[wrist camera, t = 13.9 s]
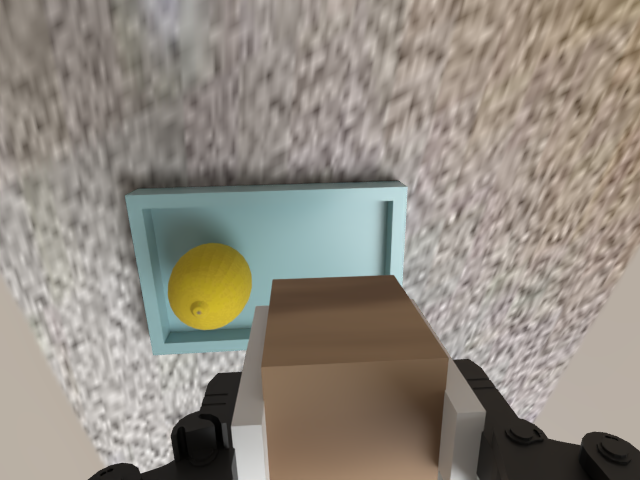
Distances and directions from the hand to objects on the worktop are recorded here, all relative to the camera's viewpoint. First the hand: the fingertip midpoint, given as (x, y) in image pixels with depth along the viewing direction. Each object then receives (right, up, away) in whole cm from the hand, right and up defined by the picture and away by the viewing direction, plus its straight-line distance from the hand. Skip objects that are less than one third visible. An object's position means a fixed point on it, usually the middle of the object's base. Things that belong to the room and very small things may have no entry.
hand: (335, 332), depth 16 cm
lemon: (-8, +2, +15) cm, 17 cm away
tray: (-4, +2, +16) cm, 17 cm away
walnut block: (0, 0, 0) cm, 0 cm away
